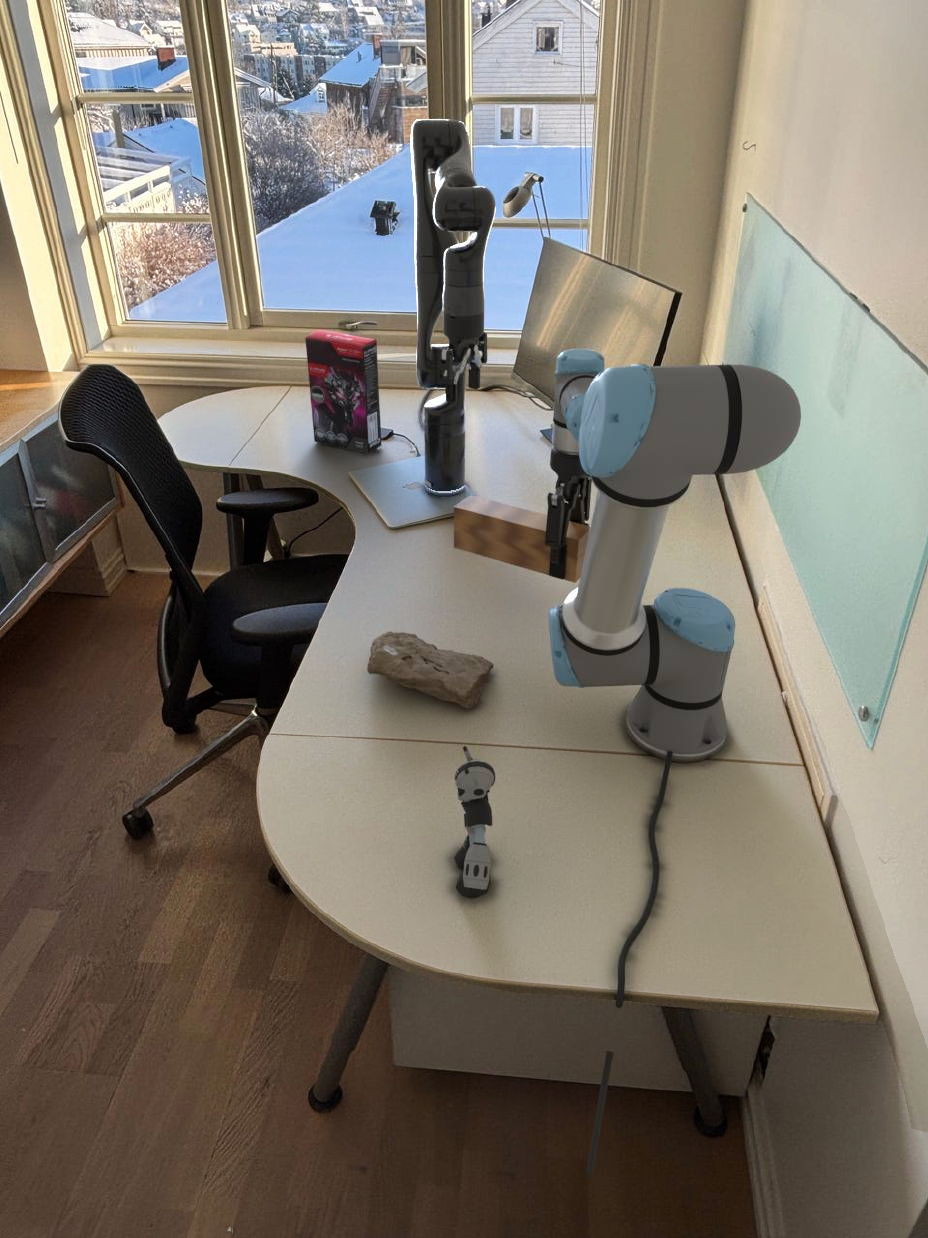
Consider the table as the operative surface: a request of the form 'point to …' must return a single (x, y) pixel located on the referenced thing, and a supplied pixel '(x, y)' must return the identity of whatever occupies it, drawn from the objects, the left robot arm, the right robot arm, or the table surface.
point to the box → (514, 536)
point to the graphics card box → (344, 390)
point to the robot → (474, 825)
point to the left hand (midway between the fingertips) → (462, 395)
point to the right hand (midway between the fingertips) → (564, 568)
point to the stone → (429, 668)
